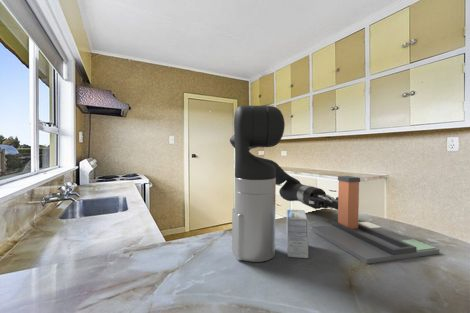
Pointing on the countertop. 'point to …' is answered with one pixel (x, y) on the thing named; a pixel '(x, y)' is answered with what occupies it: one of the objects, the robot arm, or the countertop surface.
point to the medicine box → (297, 234)
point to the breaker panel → (373, 242)
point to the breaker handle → (348, 201)
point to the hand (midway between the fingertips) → (343, 207)
